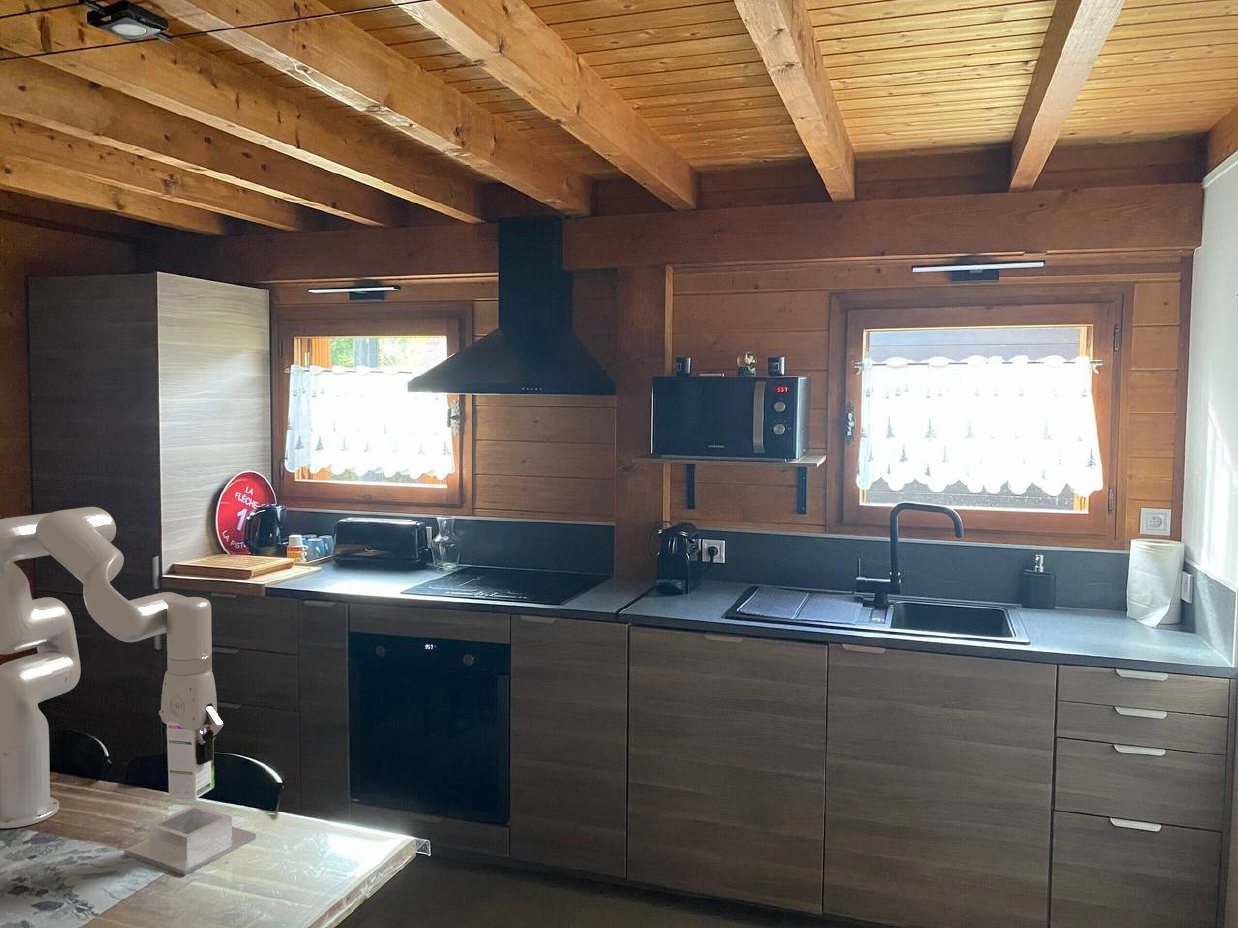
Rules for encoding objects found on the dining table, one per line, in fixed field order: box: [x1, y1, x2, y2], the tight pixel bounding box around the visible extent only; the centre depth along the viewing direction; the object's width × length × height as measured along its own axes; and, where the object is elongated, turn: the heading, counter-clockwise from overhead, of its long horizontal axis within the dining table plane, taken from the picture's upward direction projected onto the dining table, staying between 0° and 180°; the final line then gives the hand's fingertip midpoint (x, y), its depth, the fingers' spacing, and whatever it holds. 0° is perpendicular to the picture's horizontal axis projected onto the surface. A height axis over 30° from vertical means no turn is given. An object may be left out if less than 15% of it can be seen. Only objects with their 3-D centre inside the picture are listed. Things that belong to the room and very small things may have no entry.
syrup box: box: [166, 721, 215, 801], centre depth 175 cm, size 6×6×14 cm
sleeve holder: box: [123, 804, 257, 877], centre depth 176 cm, size 16×16×5 cm
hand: (191, 757), depth 175 cm, fingers closed on syrup box, 6 cm apart
